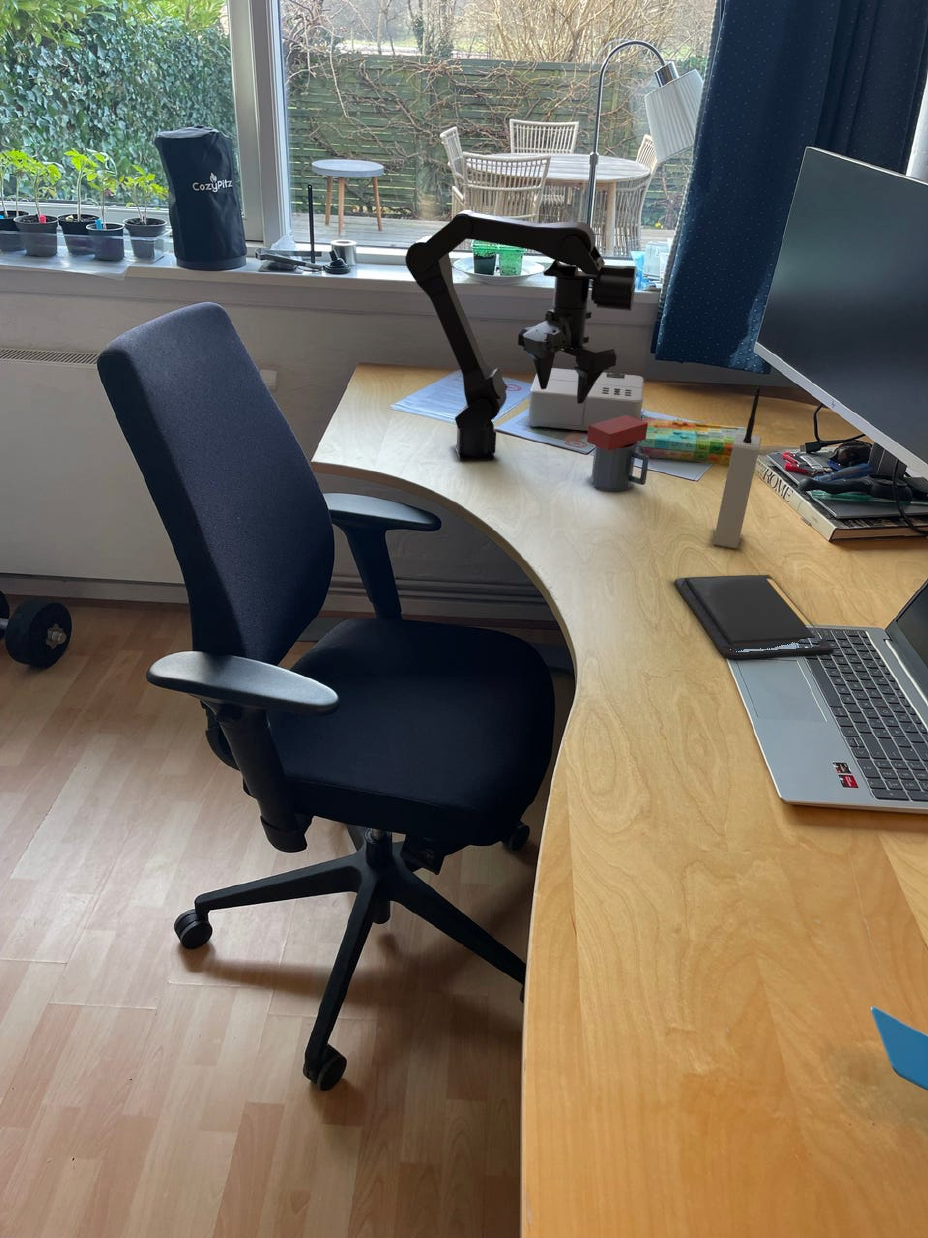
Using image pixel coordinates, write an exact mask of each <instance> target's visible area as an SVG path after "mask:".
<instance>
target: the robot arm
mask: <svg viewBox="0 0 928 1238" xmlns="http://www.w3.org/2000/svg"><path fill="white" fill-rule="evenodd" d="M466 240H471V241H472V240H473V241H479V242H484V243H490V244H495V245H502V246H507V247H513V248H519V249H523V250H524V249H525V250H531V251H534V252H537V253H539V254H541V255H543V256H546V257H547V258H550V259H551V260H553V261H552V263H551V264H550V265H549V266H547V267H546V268H545V269H544V270H543V274H542V275H543V277H553V278H554V288H553V296H552V297H553V298H552V309H546V313H545V318H544V321H543V322H540V323H537V324H536V325H533V326H528V327H523V328H521V330H520V332H519V333H518V335H517V337H518V338H517V345H518V346H519V347H520V346H521V347H522V351H523V352H525V353H526V354H527V355H528V356H529V357H530V358H531V359H532V361H533V365H534V367H535V371H536V374H537V376H538V380H539V384H540V388H541V389H546V388H547V385H548V382H549V378H550V374H551V370H552V368H553V366H554V362H555V361H554V360H555V358H556V354H557V353H559V352H562V353H565V354H567V355H570V356H574V357H575V362H576V365H577V366H573V370H576V372H577V373H578V389H577V403H578V404H581V403H583V402H584V400H585V399H586V397H587V395H588V394H589V392H590V390H591V389H592V387H593V385H594V384H595V382H596V381H597V379H598V378H599V376H600V375H601V374H602V373H604V371H607V370H610V368H612V367H613V368H614V367H616V365H617V356H618V355H617V352H616V350H615V349H614V348H612V347H609V346H606V345H603V344H600V343H598V344H593V345H587V346H584V344H588V343H589V342H590V341H589V340H590V336H588V335H586V334H585V328H586V322H587V321H586V320H588V319H592V311H589V310H588V301H589V292H590V281H592V286H591V293H590V294H591V295H590V300H591V302H593V305H596V308H597V309H607V310H616V311H626V312H627V311H628V312H631V311H632V309H633V304H634V299H635V298H634V297H635V291H636V284H635V282H636V281H635V279H636V269H637V268H636V266H635V265H624V266H618V265H609V264H606V262H605V260H604V259H603V257H602V255H601V253H600V252H599V250H598V248H597V246H596V235H595V232H594V230H593V229H592V227H591V226H590V225H589V224H588V223H586V222H584V221H559V222H548V223H546V222H545V223H538V222H532V221H527V220H520V219H515V218H509V217H503V216H497V215H491V214H486V213H479V212H475V211H473V210H470V209H464V210H462V211H460V212H459V213H457V214H455V215H454V216H453V218H452V220H450V221H449V222H448V223H447V224H445V225H444V226H443V227H442V228H440V229H439V230H438V231H437V232H436V233H434V234H433V235H426V236H424V237H423V238H421V239H419V240H417V241H416V242H414V243H412V244H411V245H410V246H409V247H408V249H407V251H406V253H405V257H404V259H405V260H404V261H405V265H406V268H407V270H408V272H409V273H410V275H411V276H412V278H413V280H414V281H415V283H416V284H417V286H418V287H419V288H420V289H421V290H422V291H423V292H424V293H425V294H426V295H427V296H428V298H429V299H430V301H431V303H432V306H433V309H434V310H435V313H436V314H437V318H438V320H439V323H440V324H441V327H442V329H443V332H444V334H445V337H446V339H447V341H448V343H449V346H450V348H451V351H452V353H453V355H454V357H455V358H454V359H455V360H456V362H457V364H458V368H459V370H460V372H461V374H462V381H463V394H464V398H465V404H464V405H463V407H462V408H461V409H460V410H459V412H458V413H457V414H456V416H455V417H454V422H455V424H456V427H457V428H456V444H455V445H454V450H455V453H456V455H457V457H458V460H459V461H461V462H462V461H463V462H465V461H493V460H495V456H494V454H495V453H496V448H497V447H496V445H497V444H496V443H497V431H496V429H495V428H494V427H495V424H494V422H493V420H494V419H495V418H496V417H497V416H498V415H499V413H500V411H501V410H502V409H503V408H504V405H505V403H506V401H507V397H508V396H507V389H509V386H508V385H507V384H506V382H505V381H504V379H503V376H502V371H501V369H500V367H497V368H495V369H491V367H490V366H489V365H488V364H487V363H486V362H485V360H484V356H483V355H482V352H481V350H480V347H479V344H478V343H477V339H476V338H475V334H474V332H473V330H472V328H471V325H470V323H469V321H468V317H467V316H466V313H465V311H464V309H463V305H462V303H461V300H460V298H459V296H458V294H457V291H456V289H455V285H454V276H453V265H452V262H451V257H450V253H451V252H452V251H454V250H455V249H456V248H458V247H459V246H460V245H461V244H462V243H463V242H465V241H466Z"/></svg>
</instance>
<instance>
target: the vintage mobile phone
mask: <svg viewBox="0 0 928 1238" xmlns="http://www.w3.org/2000/svg"><path fill="white" fill-rule="evenodd" d="M761 390H762V388H761V387H760V386H757V387H756V389H755V391H754V392H755V393H754V398H753V403H752V407H751V411H750V416H749V419H748V422H747V427H746V430H747V431H746V435H745V434H738V433H737V434H736V436H735V440H734V444H733V448H732V453H731V458H730V461H729V462H728V469H727V473H726V477H725V482H724V488H723V492H722V497H721V503H720V507H719V511H718V512H719V513H718V517H717V521H716V526H715V532H714V537H713V542H712V545H714V546H716V547H717V546H718V547H722V548H729V549H734V550H737V549H738V548H739V543H740V538H741V534H742V529H743V525H744V520H745V515H746V511H747V507H748V503H749V502H748V501H749V498H750V493H751V488H752V485H753V479H754V475H755V470H756V466H757V460H758V458H759V457H758V456H759V452H760V447H761V442H762V436H757V435H753V431H754V427H755V423H756V422H755V421H756V412H757V409H758V403H759V398H760V394H761Z"/></svg>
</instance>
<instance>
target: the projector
mask: <svg viewBox="0 0 928 1238" xmlns="http://www.w3.org/2000/svg"><path fill="white" fill-rule="evenodd" d="M644 382H645V381H644V378H643V376H640V375H635V374H634V375H633V374H624V373H616V372H615V373H614V372H613V373H612V372H602V374H601V375H600V376H599V378H598V379H597V381H596V382H595V384H594V385H593V387H592V389H591V390H590V392H589V394H588V395H587V397H586V399H585V400H584V402H583V403H581V404H578V403H577V389H578V373H577V372H576V370H575V369H569V368H567V369H566V368H558V367H557V368H556V367H555V368H554V367H552V370H551V374H550V378H549V382H548V385H547V388H546V389H541V388H540V384H539V380H538V376H537V373H536V374H535V377H534V379H533V381H532V384H531V387H530V390H529V391H530V392H529V401H528V403H529V405H528V416H527V418H528V424H529V425H530V426H531V428H537V427H542V428H543V427H545V428H553V429H565V430H574V431H575V430H576V431H577V430H578V431H584V432H588V426H589V425H592V424H595V423H599V422H602V421H606V420H609V419H613V418H616V417H620V416H623V415H629V416H631V417H634V418H636V419H639V420H641V414H642V408H643V402H644V401H643V400H644Z"/></svg>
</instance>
